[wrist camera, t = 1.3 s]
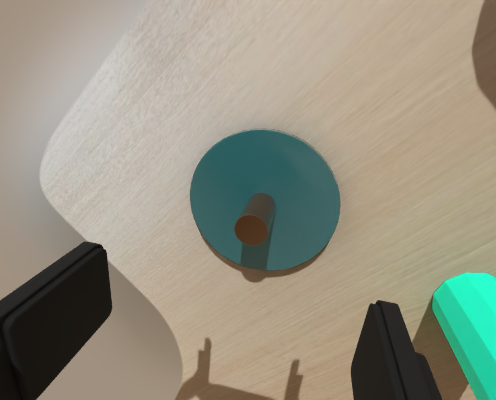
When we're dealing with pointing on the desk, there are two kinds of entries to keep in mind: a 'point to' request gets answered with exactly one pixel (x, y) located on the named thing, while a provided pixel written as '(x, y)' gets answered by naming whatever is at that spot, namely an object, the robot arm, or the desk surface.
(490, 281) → the candle
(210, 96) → the desk surface
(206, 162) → the lid
